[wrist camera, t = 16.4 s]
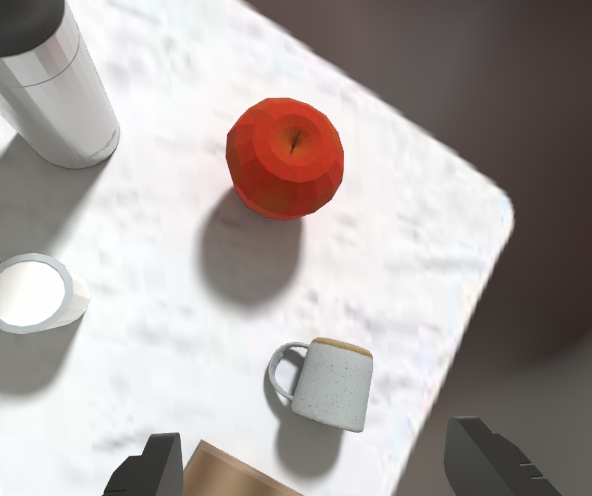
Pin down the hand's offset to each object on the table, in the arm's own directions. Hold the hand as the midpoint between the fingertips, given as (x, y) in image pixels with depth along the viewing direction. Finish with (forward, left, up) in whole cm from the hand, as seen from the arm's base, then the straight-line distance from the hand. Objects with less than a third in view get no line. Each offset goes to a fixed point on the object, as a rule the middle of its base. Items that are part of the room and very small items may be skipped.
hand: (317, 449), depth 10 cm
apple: (-7, +20, -31) cm, 37 cm away
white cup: (-19, -3, -31) cm, 36 cm away
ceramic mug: (+9, +3, -31) cm, 32 cm away
